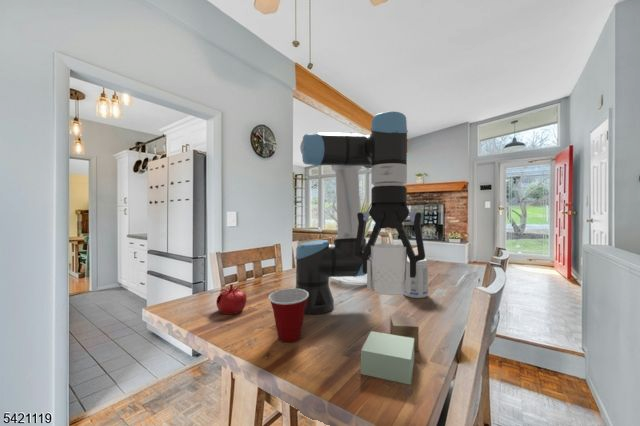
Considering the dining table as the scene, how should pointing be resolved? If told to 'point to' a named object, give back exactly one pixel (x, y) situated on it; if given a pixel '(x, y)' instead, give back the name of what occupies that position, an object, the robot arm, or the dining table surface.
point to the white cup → (388, 268)
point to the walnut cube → (405, 329)
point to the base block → (388, 357)
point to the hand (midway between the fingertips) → (388, 290)
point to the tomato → (231, 300)
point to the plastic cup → (289, 312)
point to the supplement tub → (419, 280)
